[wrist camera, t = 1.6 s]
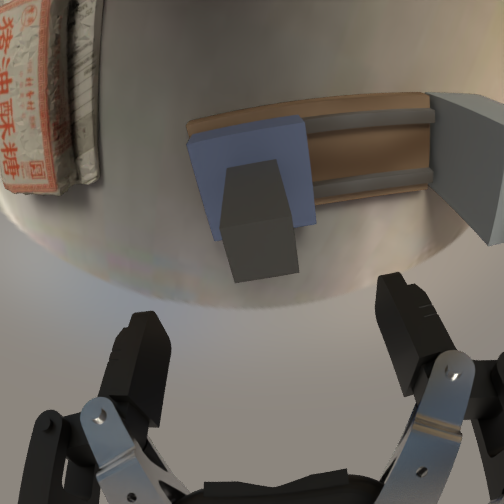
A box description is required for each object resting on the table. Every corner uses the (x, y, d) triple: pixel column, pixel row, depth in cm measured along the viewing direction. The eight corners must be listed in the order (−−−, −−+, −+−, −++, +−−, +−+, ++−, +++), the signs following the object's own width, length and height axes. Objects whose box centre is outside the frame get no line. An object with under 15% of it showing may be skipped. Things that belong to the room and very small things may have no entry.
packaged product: (81, 205, 20) (-11, 202, 20) (105, 178, 24) (18, 178, 24) (83, -45, 10) (-24, -5, 9) (111, -32, 14) (12, -5, 13)
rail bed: (189, 121, 22) (184, 128, 20) (419, 92, 20) (434, 97, 18) (214, 213, 26) (212, 228, 24) (419, 181, 25) (431, 193, 23)
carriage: (192, 134, 20) (158, 195, 12) (298, 114, 19) (336, 162, 12) (216, 223, 24) (205, 317, 16) (310, 207, 23) (342, 296, 16)
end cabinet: (425, 92, 20) (508, 127, 12) (478, 94, 20) (560, 131, 11) (424, 185, 25) (486, 251, 17) (473, 179, 24) (538, 238, 16)
